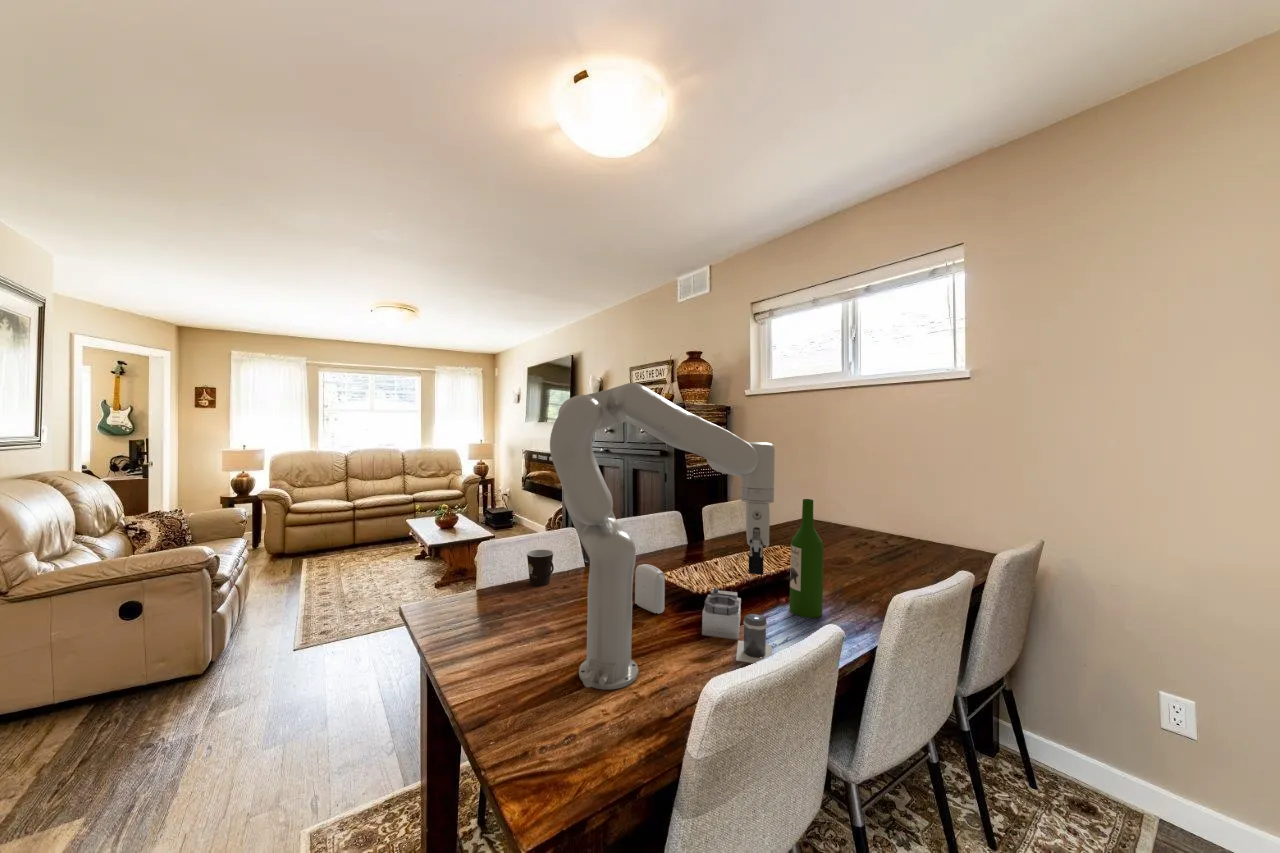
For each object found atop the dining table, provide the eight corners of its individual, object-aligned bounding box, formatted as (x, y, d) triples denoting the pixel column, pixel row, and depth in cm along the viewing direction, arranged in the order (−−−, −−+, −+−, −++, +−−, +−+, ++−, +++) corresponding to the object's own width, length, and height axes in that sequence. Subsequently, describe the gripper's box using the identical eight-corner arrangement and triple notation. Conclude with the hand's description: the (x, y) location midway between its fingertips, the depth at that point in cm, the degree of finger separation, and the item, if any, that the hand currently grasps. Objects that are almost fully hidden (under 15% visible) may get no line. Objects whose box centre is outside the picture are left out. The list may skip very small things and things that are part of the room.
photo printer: (632, 604, 137) (633, 562, 137) (643, 601, 139) (644, 560, 139) (655, 615, 129) (656, 571, 129) (666, 612, 132) (667, 568, 131)
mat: (772, 667, 102) (772, 665, 102) (735, 661, 104) (736, 660, 104) (771, 646, 112) (771, 644, 112) (738, 642, 114) (738, 640, 114)
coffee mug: (525, 579, 156) (526, 550, 156) (551, 577, 159) (551, 548, 159) (527, 592, 145) (528, 560, 145) (555, 589, 148) (556, 558, 148)
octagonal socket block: (738, 641, 114) (738, 607, 114) (701, 636, 117) (702, 603, 117) (740, 619, 127) (741, 589, 127) (707, 615, 129) (708, 586, 129)
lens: (766, 659, 105) (767, 623, 105) (742, 656, 106) (743, 620, 106) (766, 648, 110) (766, 614, 110) (743, 645, 111) (744, 611, 111)
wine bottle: (782, 607, 136) (785, 497, 136) (807, 604, 139) (809, 496, 139) (803, 619, 128) (806, 502, 128) (829, 615, 131) (831, 501, 131)
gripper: (775, 501, 99) (773, 581, 99) (772, 490, 116) (771, 558, 116) (739, 499, 101) (738, 577, 101) (742, 489, 117) (741, 556, 118)
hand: (756, 567), depth 108 cm, fingers open, 9 cm apart
